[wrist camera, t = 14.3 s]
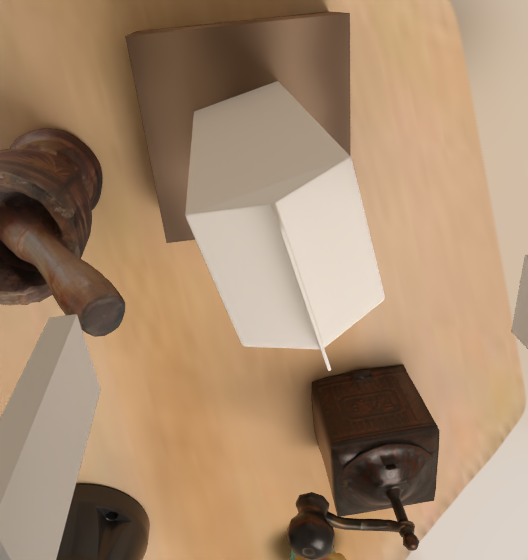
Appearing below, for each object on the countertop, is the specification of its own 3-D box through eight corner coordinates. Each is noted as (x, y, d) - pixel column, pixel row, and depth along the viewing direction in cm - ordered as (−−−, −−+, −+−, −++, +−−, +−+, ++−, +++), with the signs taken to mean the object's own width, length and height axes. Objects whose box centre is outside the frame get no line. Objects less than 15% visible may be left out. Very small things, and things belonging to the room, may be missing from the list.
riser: (171, 213, 43) (166, 242, 38) (136, 31, 36) (125, 36, 31) (332, 194, 44) (350, 220, 39) (328, 11, 37) (349, 13, 32)
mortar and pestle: (134, 105, 39) (79, 190, 21) (161, 210, 43) (133, 353, 25) (-17, 130, 38) (-199, 236, 21) (25, 233, 43) (-98, 393, 25)
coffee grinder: (406, 358, 54) (491, 505, 38) (405, 433, 59) (479, 589, 43) (261, 382, 53) (286, 542, 37) (274, 455, 58) (300, 622, 43)
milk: (278, 80, 33) (386, 180, 14) (303, 165, 36) (421, 346, 17) (191, 112, 34) (179, 253, 14) (223, 194, 36) (249, 403, 17)
